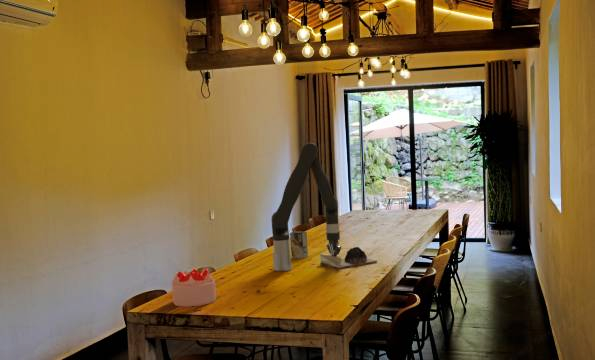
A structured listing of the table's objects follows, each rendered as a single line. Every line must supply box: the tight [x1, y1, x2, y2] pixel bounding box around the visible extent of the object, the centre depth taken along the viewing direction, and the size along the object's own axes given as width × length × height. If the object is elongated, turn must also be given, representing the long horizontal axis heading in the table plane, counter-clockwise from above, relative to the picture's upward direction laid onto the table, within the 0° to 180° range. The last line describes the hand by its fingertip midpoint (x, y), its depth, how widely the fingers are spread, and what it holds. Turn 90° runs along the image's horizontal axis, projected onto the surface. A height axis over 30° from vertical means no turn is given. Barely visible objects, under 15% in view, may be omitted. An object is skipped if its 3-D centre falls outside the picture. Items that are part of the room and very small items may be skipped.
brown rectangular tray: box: [319, 253, 378, 270], centre depth 349 cm, size 26×20×6 cm
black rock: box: [344, 246, 368, 263], centre depth 351 cm, size 13×14×10 cm
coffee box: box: [289, 231, 309, 259], centre depth 381 cm, size 9×6×16 cm
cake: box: [171, 268, 217, 308], centre depth 282 cm, size 20×20×14 cm
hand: (334, 261), depth 346 cm, fingers closed
